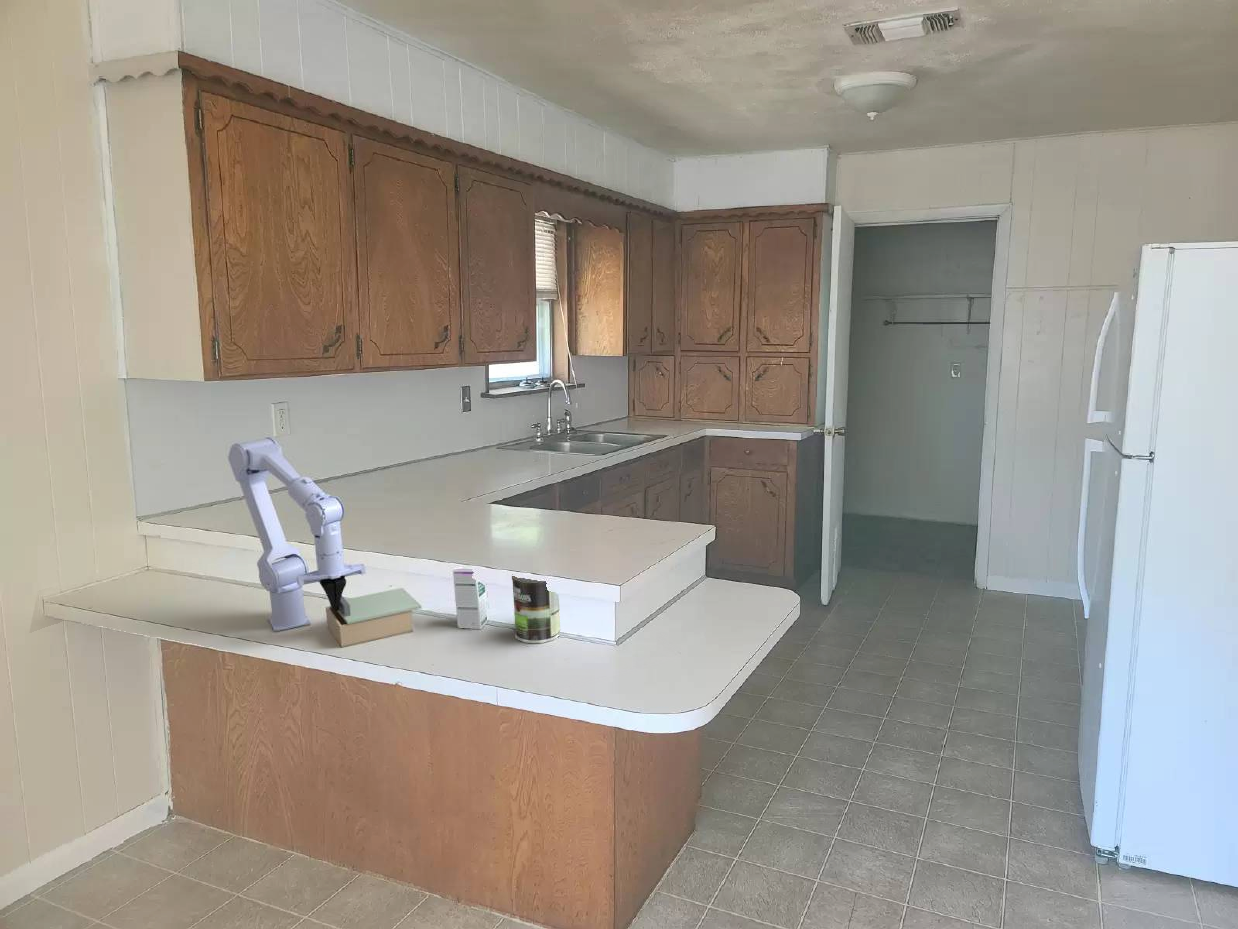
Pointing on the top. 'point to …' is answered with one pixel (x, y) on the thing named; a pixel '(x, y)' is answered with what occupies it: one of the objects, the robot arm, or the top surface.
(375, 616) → the lid
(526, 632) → the coffee can
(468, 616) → the syrup box
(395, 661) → the top surface
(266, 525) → the robot arm
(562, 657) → the top surface
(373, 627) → the mailer box
